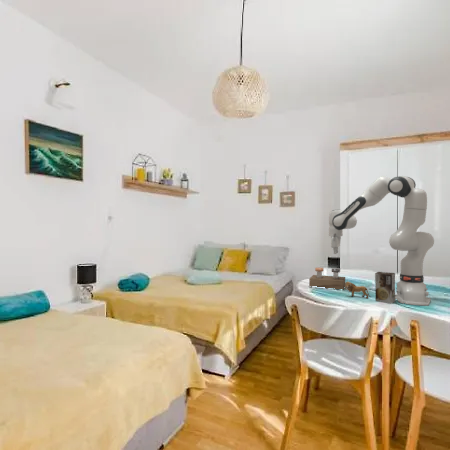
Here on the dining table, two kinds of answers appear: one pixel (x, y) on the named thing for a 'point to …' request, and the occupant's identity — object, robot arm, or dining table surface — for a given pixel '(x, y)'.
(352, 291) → the lion figurine
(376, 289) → the coffee box
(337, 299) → the dining table surface
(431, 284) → the dining table surface
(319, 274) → the plunger terracotta
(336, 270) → the plunger grey
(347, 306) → the dining table surface
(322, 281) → the press block
